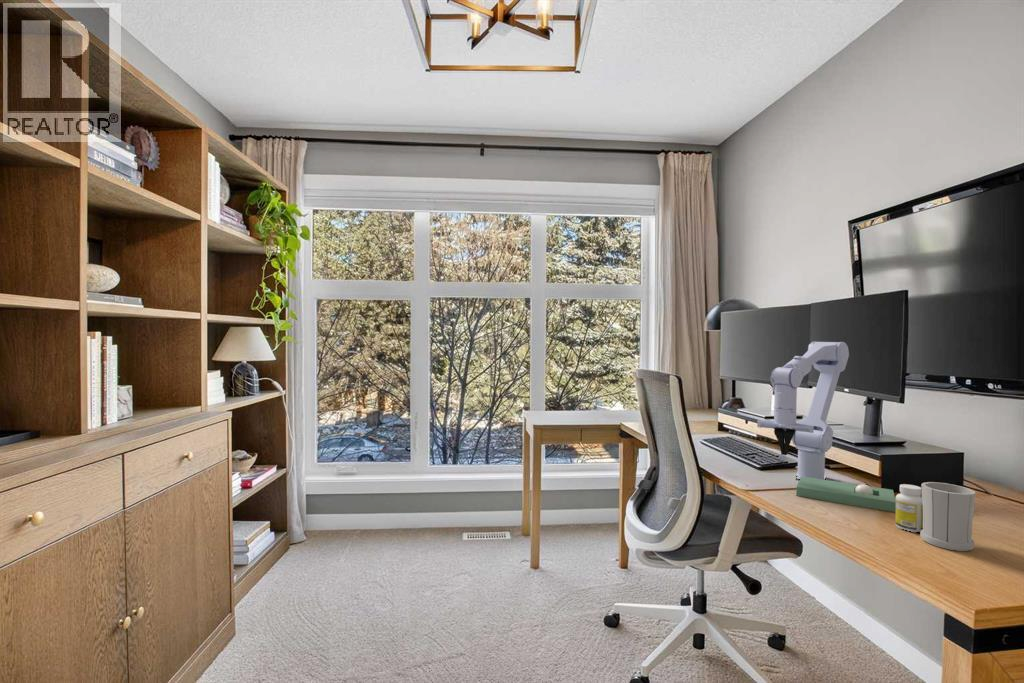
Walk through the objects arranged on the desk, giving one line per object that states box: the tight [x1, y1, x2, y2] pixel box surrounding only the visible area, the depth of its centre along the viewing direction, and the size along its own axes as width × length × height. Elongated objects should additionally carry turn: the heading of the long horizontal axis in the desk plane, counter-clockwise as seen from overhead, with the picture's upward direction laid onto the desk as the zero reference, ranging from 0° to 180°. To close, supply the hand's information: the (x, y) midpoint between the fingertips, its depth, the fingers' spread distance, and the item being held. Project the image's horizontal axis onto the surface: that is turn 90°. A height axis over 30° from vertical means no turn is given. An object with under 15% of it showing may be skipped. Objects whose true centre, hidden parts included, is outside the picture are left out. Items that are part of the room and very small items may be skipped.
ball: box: [855, 483, 873, 495], centre depth 137 cm, size 4×4×4 cm
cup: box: [919, 481, 977, 552], centre depth 109 cm, size 10×9×12 cm
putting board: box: [795, 476, 896, 513], centre depth 139 cm, size 13×22×2 cm, turn 56°
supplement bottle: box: [895, 483, 923, 533], centre depth 117 cm, size 5×5×10 cm
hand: (784, 454), depth 149 cm, fingers closed
